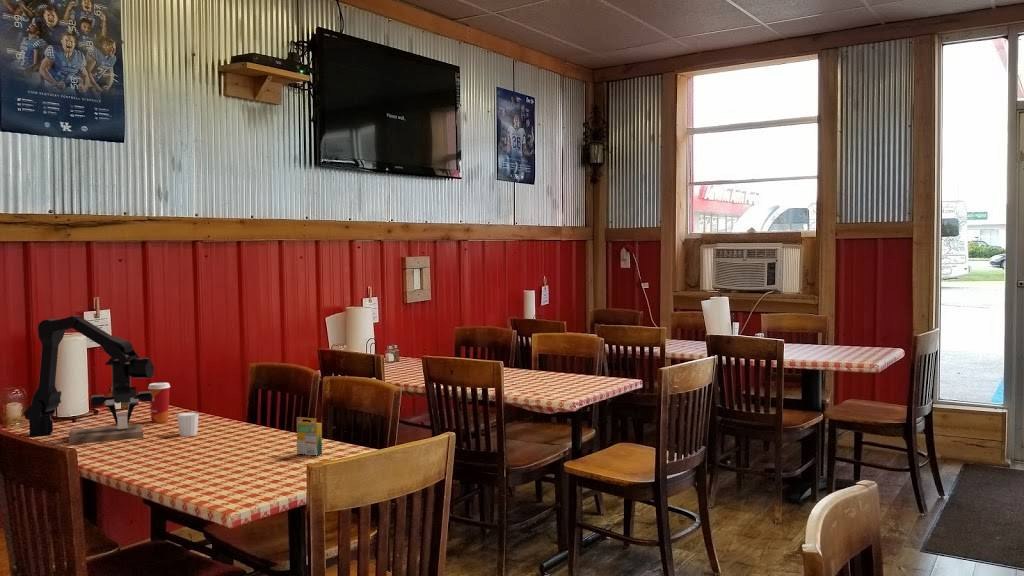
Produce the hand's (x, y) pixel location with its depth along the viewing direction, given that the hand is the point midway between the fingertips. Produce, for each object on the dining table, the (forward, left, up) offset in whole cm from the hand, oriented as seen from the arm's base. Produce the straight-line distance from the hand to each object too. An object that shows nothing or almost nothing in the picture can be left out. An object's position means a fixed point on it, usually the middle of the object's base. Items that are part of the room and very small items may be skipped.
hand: (122, 423), depth 278 cm
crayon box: (+50, -57, -4) cm, 76 cm away
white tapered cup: (+20, -9, -4) cm, 22 cm away
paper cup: (+13, +19, -4) cm, 23 cm away
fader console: (-5, 0, -4) cm, 6 cm away
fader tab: (0, 0, -2) cm, 2 cm away
